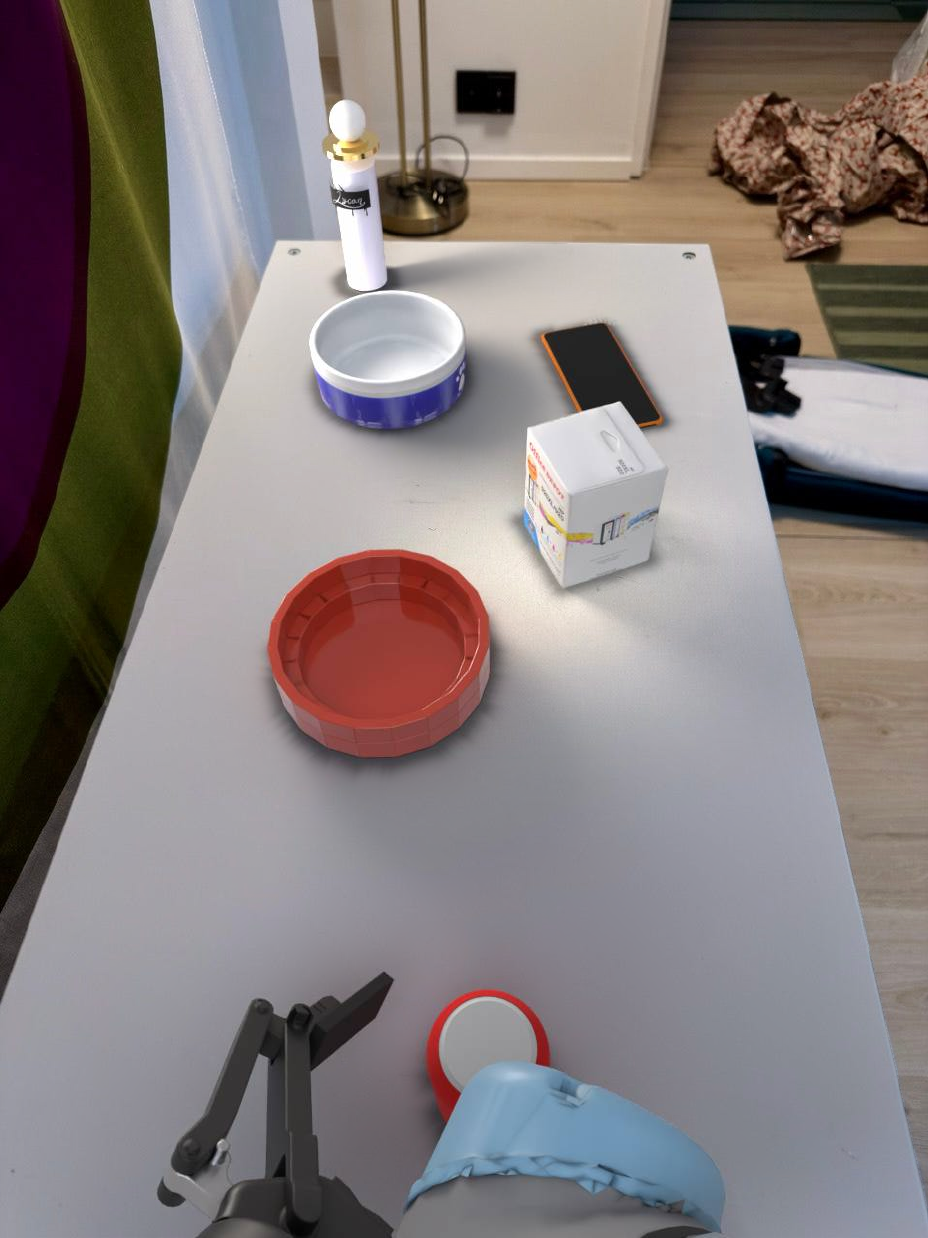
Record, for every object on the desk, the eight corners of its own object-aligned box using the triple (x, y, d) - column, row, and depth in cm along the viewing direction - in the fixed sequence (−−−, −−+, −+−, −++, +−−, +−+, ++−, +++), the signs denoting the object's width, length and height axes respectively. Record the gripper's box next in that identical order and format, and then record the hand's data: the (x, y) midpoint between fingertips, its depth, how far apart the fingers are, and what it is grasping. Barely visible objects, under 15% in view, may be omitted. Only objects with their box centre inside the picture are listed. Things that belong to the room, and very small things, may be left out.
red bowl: (519, 725, 68) (521, 690, 64) (304, 790, 65) (292, 757, 61) (452, 567, 78) (450, 527, 74) (263, 617, 75) (250, 579, 71)
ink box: (520, 524, 80) (523, 423, 71) (605, 498, 82) (619, 395, 73) (560, 594, 75) (570, 495, 66) (650, 564, 77) (672, 464, 68)
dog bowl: (347, 329, 98) (339, 280, 93) (482, 348, 96) (482, 298, 91) (297, 420, 90) (286, 370, 85) (444, 443, 87) (441, 394, 82)
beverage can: (534, 1159, 51) (544, 1129, 41) (427, 1138, 52) (412, 1104, 42) (546, 1044, 55) (558, 992, 45) (446, 1026, 55) (436, 971, 46)
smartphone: (591, 440, 86) (592, 434, 86) (539, 339, 96) (539, 332, 96) (665, 425, 87) (666, 419, 87) (606, 326, 97) (607, 319, 96)
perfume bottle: (351, 268, 105) (326, 85, 89) (399, 273, 105) (382, 90, 89) (336, 296, 102) (307, 112, 86) (385, 302, 101) (365, 116, 85)
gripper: (-69, 1213, 34) (281, 984, 53) (465, 1866, 24) (655, 1302, 43) (-13, 1060, 32) (328, 880, 51) (585, 1700, 23) (728, 1188, 42)
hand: (479, 1074), depth 47 cm, fingers open, 13 cm apart
